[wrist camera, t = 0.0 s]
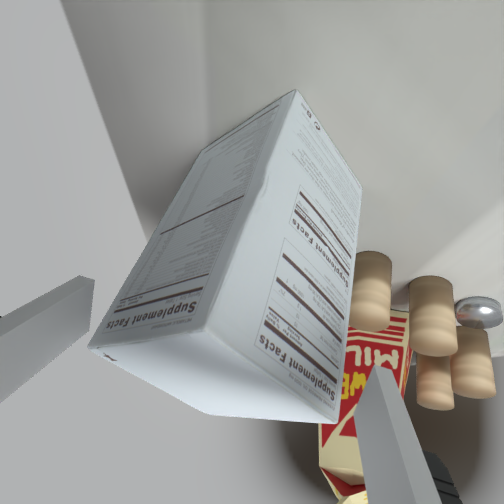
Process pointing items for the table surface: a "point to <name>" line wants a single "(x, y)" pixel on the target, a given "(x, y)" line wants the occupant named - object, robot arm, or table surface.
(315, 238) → the supplement box
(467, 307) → the silver metal dome
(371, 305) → the posts
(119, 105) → the table surface
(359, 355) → the milk carton
